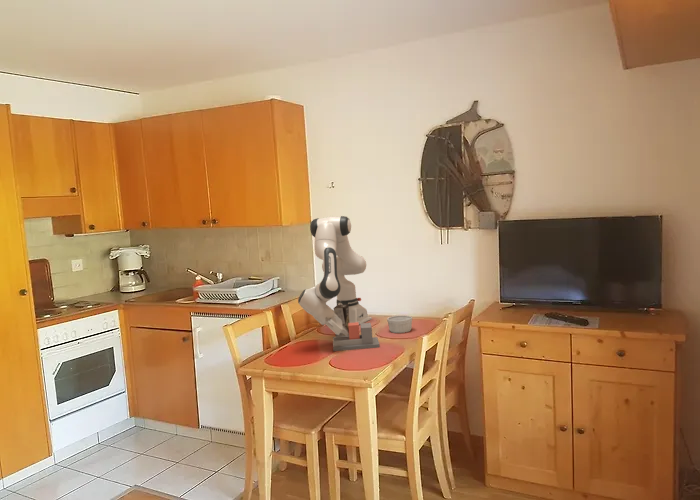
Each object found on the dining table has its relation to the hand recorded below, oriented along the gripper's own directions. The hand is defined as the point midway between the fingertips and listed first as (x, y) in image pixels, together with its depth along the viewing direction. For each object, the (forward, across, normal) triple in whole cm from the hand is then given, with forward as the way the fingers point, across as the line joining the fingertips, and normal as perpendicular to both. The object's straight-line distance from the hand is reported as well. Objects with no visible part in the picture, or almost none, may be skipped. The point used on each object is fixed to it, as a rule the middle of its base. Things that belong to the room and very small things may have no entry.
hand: (347, 334), depth 269 cm
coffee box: (+3, +20, +6) cm, 21 cm away
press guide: (+7, 0, +2) cm, 7 cm away
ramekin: (+24, +22, -16) cm, 36 cm away
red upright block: (+5, 0, +1) cm, 5 cm away
